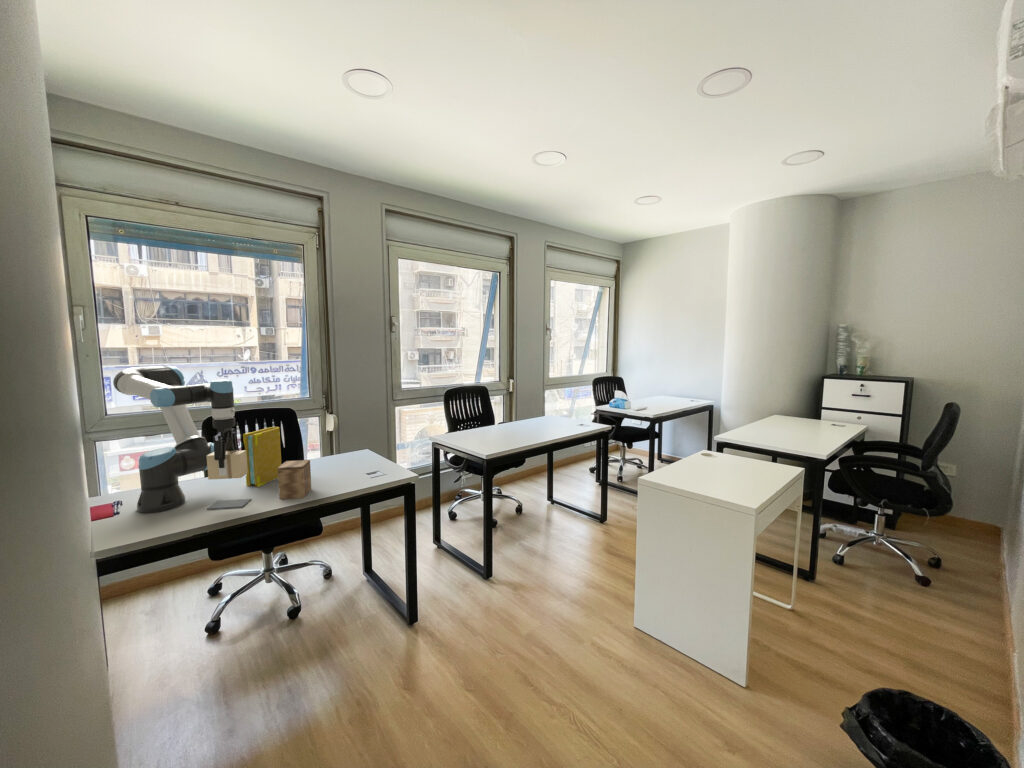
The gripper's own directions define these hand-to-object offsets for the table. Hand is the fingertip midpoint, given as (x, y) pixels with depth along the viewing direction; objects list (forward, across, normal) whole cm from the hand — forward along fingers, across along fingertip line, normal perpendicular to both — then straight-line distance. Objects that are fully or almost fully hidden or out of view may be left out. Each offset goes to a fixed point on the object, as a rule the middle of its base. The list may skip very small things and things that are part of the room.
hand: (227, 472), depth 167 cm
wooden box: (+14, +9, -23) cm, 28 cm away
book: (+14, +30, -3) cm, 33 cm away
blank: (+2, 0, 0) cm, 2 cm away
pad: (+14, 0, 0) cm, 14 cm away
